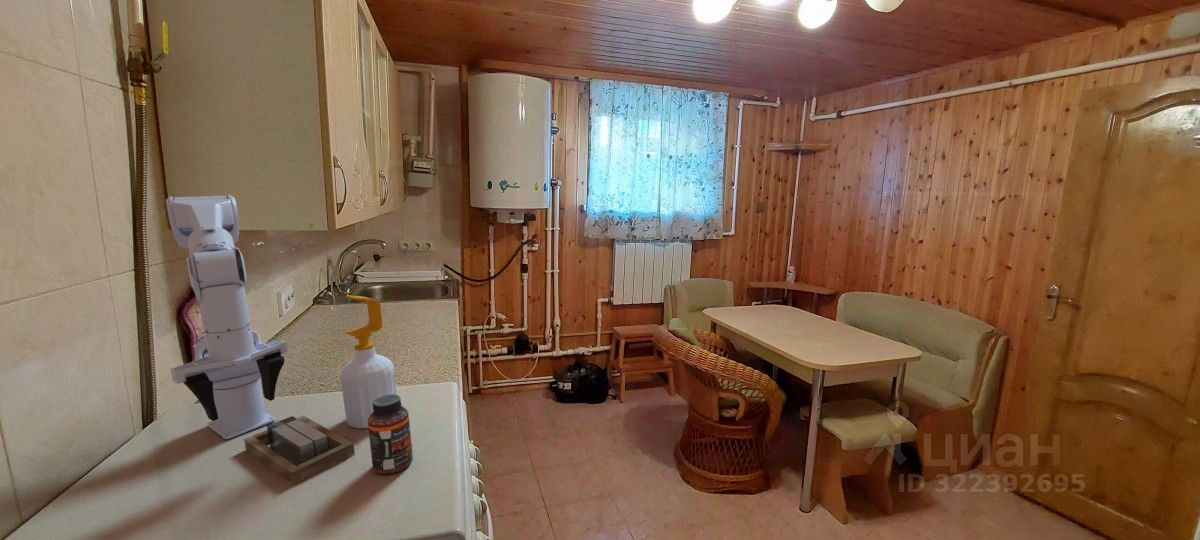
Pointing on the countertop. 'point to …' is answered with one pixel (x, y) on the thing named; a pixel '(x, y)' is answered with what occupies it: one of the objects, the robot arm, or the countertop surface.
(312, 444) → the grooved grey block
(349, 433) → the countertop surface
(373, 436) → the supplement bottle
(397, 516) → the countertop surface
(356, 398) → the soap bottle
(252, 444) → the brown rectangular open frame
